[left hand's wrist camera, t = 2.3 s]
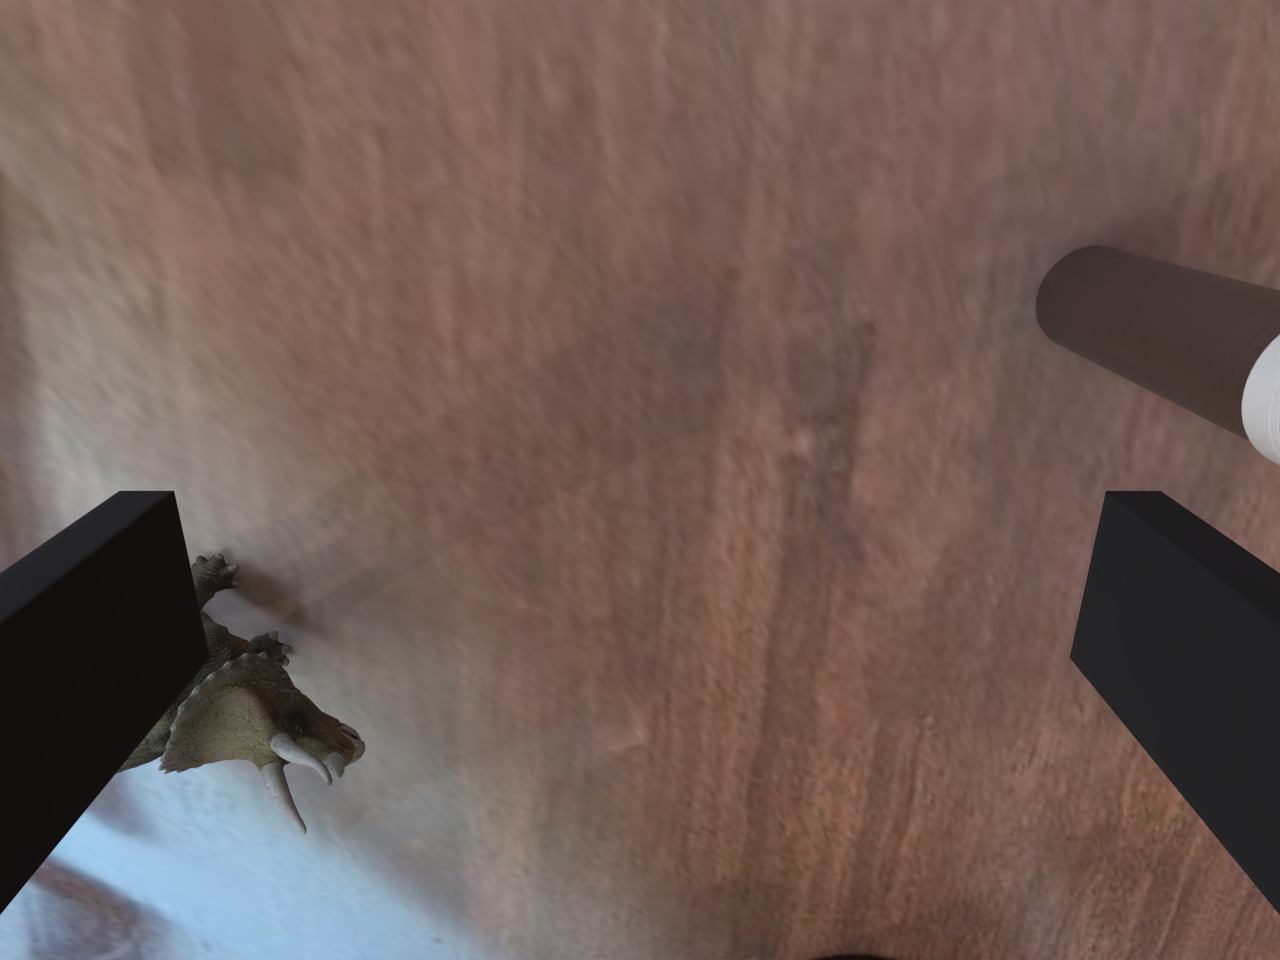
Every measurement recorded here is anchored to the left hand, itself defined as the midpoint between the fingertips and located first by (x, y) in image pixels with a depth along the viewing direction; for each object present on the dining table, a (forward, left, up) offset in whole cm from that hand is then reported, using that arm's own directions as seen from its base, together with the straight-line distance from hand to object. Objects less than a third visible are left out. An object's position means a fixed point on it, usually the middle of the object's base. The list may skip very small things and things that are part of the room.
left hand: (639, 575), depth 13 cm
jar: (-1, -20, -28) cm, 34 cm away
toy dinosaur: (-18, +24, -28) cm, 41 cm away
